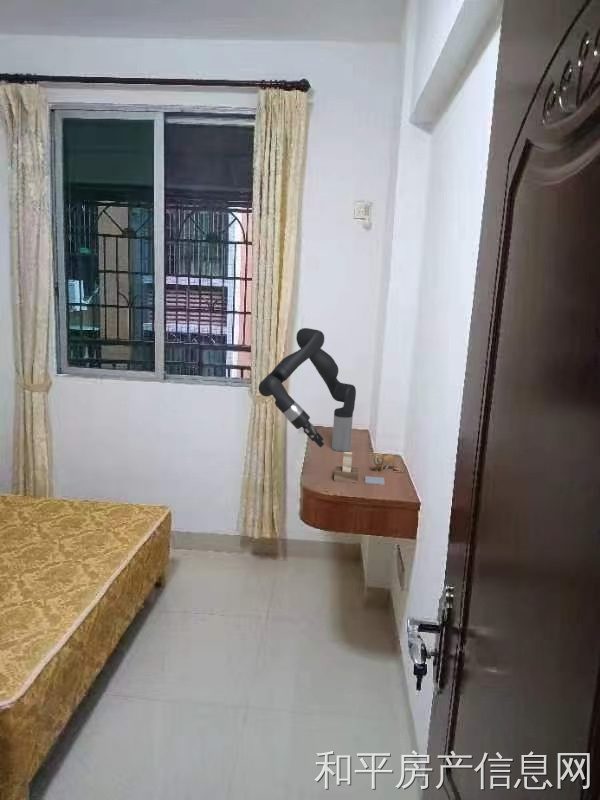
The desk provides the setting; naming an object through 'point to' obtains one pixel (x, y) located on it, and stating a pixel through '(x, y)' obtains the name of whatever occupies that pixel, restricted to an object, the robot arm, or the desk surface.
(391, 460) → the lion figurine
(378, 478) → the slate mat
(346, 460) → the birch peg
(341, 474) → the socket block
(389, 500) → the desk surface
